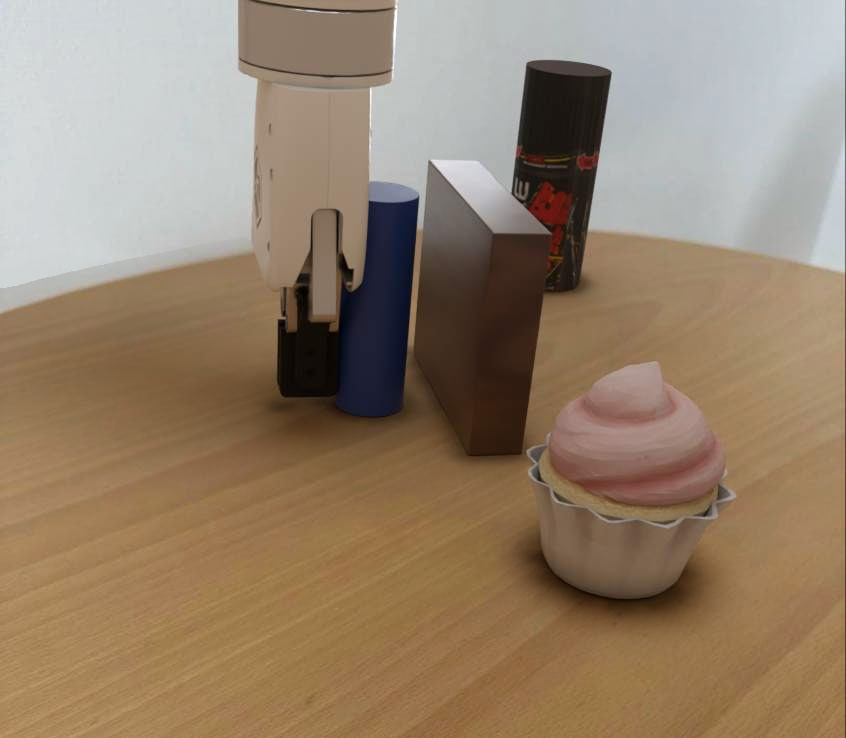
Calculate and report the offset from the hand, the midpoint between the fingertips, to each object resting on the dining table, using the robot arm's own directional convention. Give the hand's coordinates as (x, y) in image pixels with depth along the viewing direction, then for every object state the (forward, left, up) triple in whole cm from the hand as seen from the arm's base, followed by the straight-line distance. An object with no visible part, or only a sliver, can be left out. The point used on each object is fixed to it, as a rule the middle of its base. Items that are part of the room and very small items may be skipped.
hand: (306, 390), depth 65 cm
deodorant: (+21, +21, -1) cm, 30 cm away
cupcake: (+12, -18, -1) cm, 21 cm away
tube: (+4, 0, +5) cm, 6 cm away
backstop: (+9, 0, -1) cm, 9 cm away
